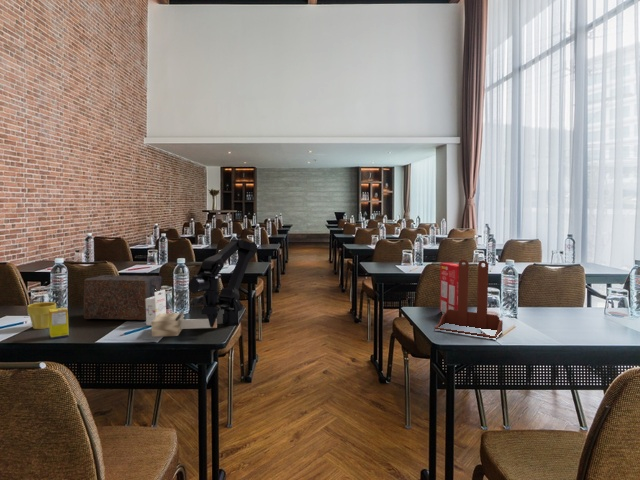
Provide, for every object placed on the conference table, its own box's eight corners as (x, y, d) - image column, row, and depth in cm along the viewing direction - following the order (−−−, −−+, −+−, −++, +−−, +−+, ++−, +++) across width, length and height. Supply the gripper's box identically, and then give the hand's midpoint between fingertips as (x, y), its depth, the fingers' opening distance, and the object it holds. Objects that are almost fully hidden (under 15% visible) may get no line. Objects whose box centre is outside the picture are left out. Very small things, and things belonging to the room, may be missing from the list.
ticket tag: (216, 326, 181) (216, 318, 181) (216, 327, 180) (216, 319, 180) (177, 328, 179) (177, 319, 179) (176, 329, 178) (176, 320, 177)
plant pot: (58, 327, 182) (57, 305, 182) (28, 331, 176) (28, 308, 176) (55, 323, 191) (54, 301, 190) (27, 326, 184) (26, 303, 184)
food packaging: (465, 319, 203) (466, 266, 201) (455, 319, 202) (456, 266, 200) (449, 312, 217) (450, 262, 216) (439, 312, 216) (440, 263, 215)
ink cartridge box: (156, 320, 196) (156, 288, 195) (166, 321, 195) (166, 289, 194) (145, 325, 188) (144, 291, 187) (155, 326, 187) (155, 292, 186)
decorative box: (100, 315, 211) (78, 320, 191) (102, 274, 212) (81, 275, 192) (163, 316, 212) (148, 322, 192) (165, 275, 213) (150, 276, 193)
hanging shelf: (434, 331, 181) (436, 260, 180) (444, 325, 192) (445, 257, 190) (495, 341, 168) (497, 264, 166) (502, 333, 179) (504, 261, 177)
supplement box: (66, 333, 174) (65, 306, 173) (68, 336, 169) (68, 309, 168) (48, 336, 170) (48, 308, 169) (51, 339, 165) (50, 311, 165)
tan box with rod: (183, 326, 185) (183, 310, 185) (178, 335, 172) (177, 318, 171) (159, 327, 184) (159, 311, 184) (151, 336, 170) (151, 319, 170)
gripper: (194, 286, 187) (195, 321, 188) (188, 293, 169) (188, 333, 170) (220, 285, 189) (221, 320, 190) (217, 293, 171) (217, 332, 172)
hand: (211, 326), depth 180 cm, fingers closed on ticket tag
